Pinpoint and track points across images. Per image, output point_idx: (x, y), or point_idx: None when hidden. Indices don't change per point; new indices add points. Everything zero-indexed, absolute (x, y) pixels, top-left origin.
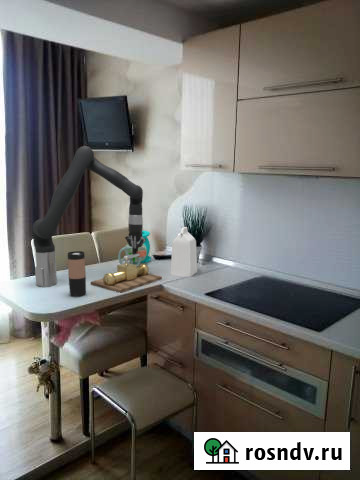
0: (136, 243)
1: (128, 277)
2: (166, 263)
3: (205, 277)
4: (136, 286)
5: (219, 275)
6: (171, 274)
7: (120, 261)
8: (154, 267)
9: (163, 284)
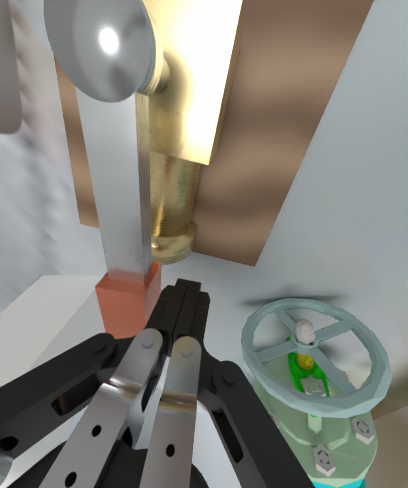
0: (100, 398)
1: None
2: None
3: (9, 282)
4: None
5: (4, 307)
6: (102, 277)
7: (350, 319)
8: (211, 331)
9: (21, 148)
